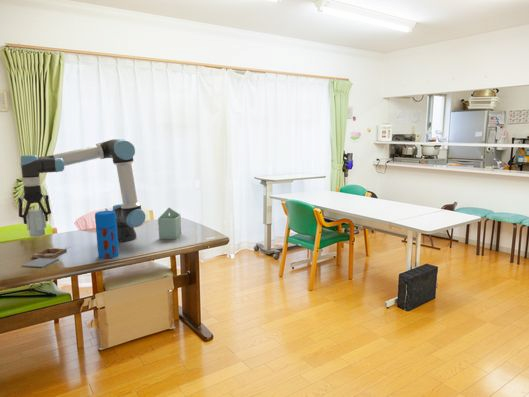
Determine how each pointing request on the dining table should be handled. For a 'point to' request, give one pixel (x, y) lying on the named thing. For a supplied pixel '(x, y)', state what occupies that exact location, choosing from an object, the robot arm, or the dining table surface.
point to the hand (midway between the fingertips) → (36, 228)
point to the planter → (169, 225)
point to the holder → (42, 253)
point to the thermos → (106, 234)
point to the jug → (36, 223)
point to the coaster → (40, 262)
